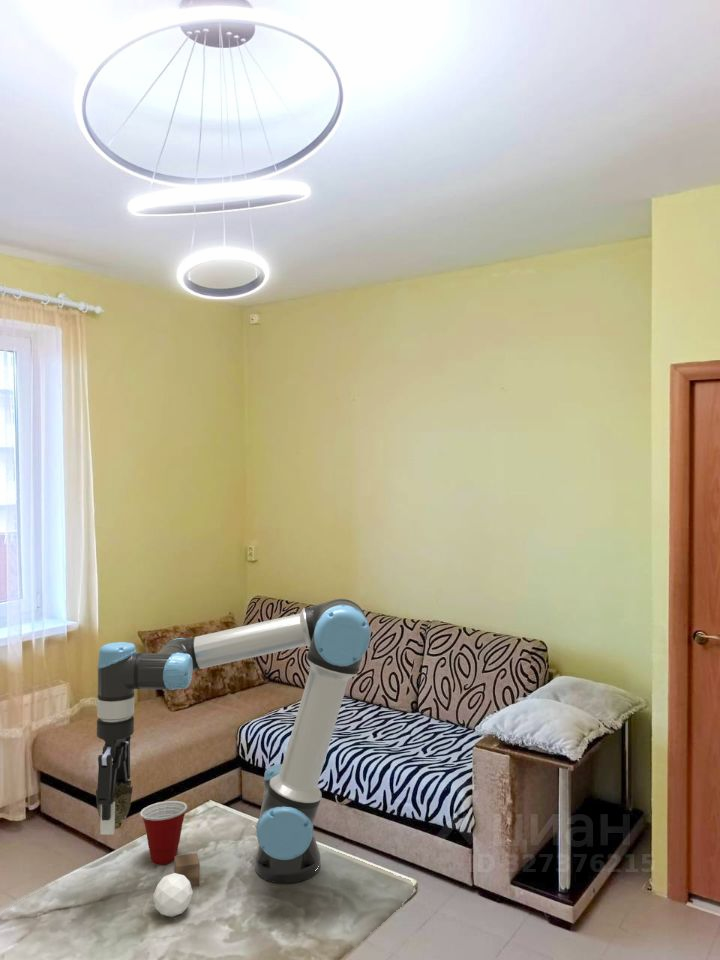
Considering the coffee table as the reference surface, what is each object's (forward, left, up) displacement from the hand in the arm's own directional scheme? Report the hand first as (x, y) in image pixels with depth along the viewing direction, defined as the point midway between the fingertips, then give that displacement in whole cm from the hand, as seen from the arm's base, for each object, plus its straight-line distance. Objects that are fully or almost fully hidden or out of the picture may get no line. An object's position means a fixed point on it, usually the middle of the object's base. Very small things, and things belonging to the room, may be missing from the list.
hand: (113, 825), depth 152 cm
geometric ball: (-14, +4, -16) cm, 22 cm away
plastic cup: (-6, -18, -16) cm, 25 cm away
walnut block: (-14, -8, -16) cm, 23 cm away
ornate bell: (0, 0, -1) cm, 1 cm away
